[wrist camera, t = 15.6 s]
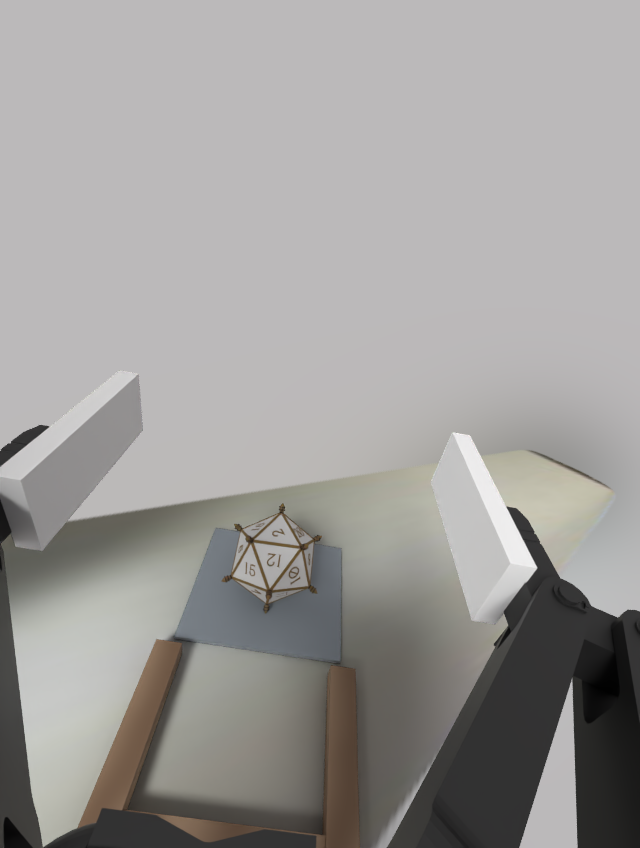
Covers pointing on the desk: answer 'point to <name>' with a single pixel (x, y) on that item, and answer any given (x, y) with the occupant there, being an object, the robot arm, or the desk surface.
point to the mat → (243, 612)
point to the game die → (273, 559)
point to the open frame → (118, 786)
